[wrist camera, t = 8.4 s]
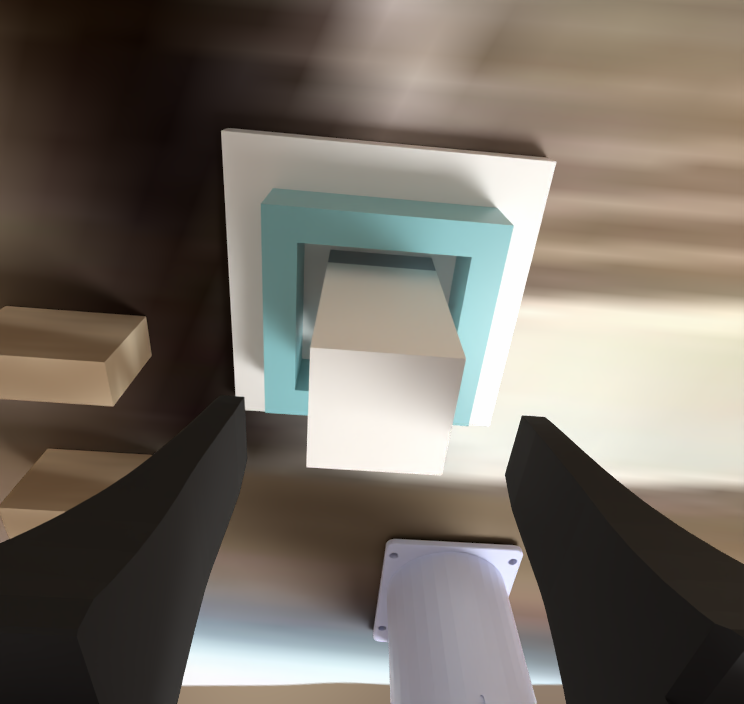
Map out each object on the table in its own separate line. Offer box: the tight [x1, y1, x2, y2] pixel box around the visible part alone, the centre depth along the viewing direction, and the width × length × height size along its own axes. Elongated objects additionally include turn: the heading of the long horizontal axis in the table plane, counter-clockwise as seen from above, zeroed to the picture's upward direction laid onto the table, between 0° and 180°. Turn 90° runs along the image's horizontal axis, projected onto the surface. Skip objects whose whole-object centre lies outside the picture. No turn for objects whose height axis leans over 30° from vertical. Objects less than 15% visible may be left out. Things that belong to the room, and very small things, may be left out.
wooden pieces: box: [0, 306, 152, 539], centre depth 23 cm, size 10×6×4 cm, turn 175°
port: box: [221, 128, 556, 426], centre depth 20 cm, size 12×12×4 cm
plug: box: [306, 250, 466, 475], centre depth 17 cm, size 4×4×8 cm
